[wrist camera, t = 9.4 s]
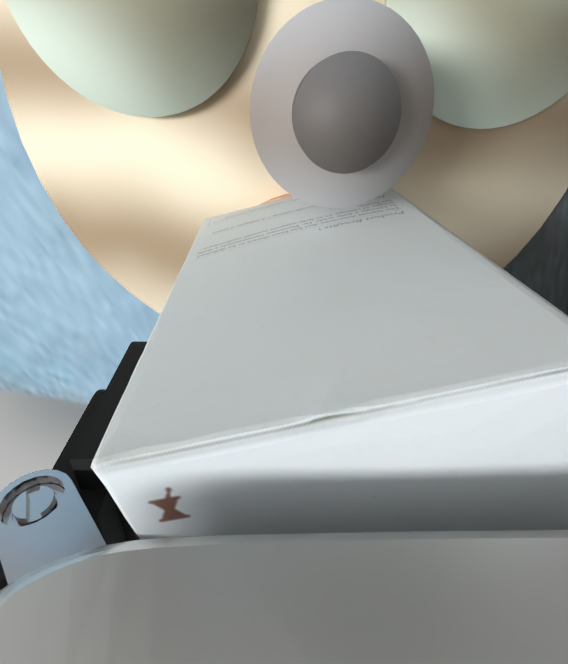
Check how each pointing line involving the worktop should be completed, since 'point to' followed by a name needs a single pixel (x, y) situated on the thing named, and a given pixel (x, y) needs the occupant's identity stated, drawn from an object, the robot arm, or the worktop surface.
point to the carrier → (286, 115)
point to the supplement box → (342, 384)
